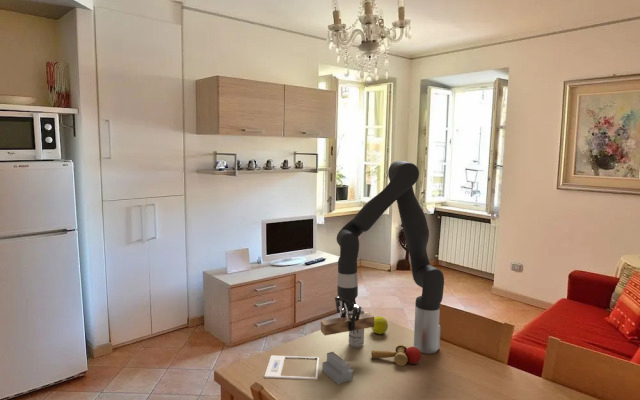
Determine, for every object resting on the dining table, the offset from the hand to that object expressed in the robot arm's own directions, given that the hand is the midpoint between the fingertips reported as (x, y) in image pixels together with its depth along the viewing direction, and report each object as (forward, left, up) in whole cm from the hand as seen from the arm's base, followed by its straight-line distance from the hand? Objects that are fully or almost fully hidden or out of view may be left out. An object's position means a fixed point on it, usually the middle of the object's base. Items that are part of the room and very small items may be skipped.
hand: (347, 327), depth 159 cm
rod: (0, 0, -1) cm, 1 cm away
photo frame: (+21, -3, -12) cm, 25 cm away
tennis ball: (-24, -10, -12) cm, 28 cm away
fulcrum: (+10, +9, -11) cm, 18 cm away
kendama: (-14, +12, -12) cm, 22 cm away
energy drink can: (-9, -6, -12) cm, 16 cm away
